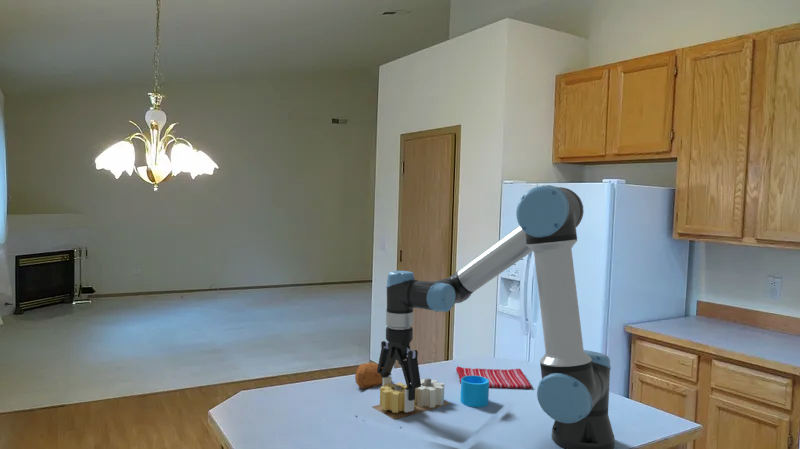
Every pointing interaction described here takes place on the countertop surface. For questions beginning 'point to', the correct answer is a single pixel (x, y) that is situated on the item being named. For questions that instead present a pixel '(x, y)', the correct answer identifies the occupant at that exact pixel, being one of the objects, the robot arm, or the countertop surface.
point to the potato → (368, 375)
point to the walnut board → (416, 410)
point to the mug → (474, 391)
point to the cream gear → (430, 394)
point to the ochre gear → (393, 397)
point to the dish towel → (498, 377)
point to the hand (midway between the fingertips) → (397, 405)
